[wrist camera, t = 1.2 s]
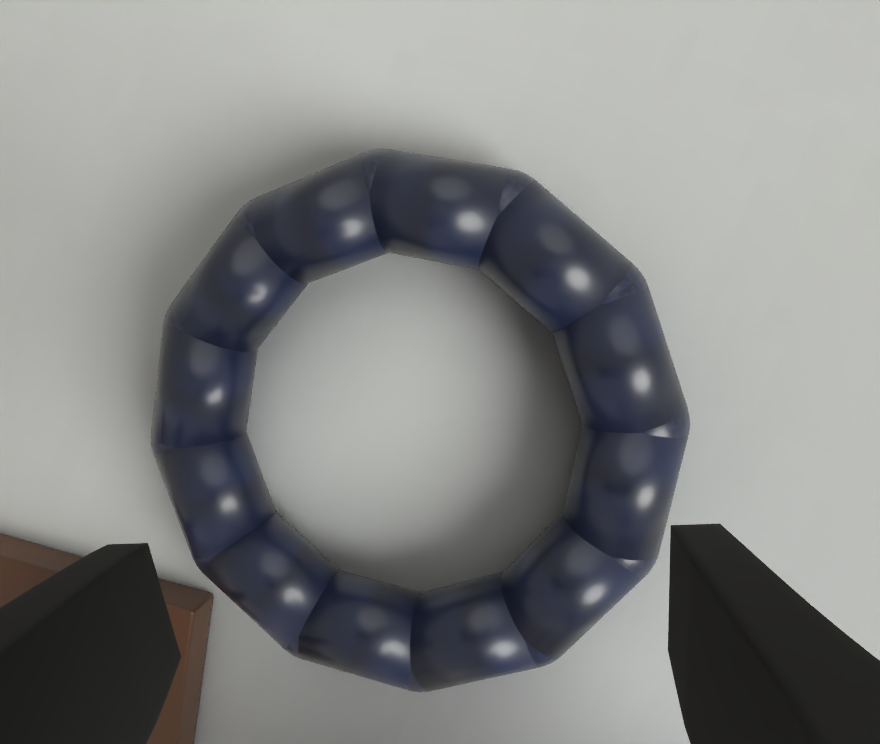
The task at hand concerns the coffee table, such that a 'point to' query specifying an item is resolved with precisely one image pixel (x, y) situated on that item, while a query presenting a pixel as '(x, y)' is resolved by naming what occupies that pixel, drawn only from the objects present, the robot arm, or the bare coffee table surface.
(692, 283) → the coffee table surface
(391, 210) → the dark blue ring
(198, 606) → the wooden ring toss peg
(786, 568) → the coffee table surface
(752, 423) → the coffee table surface
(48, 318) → the coffee table surface
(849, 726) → the robot arm
